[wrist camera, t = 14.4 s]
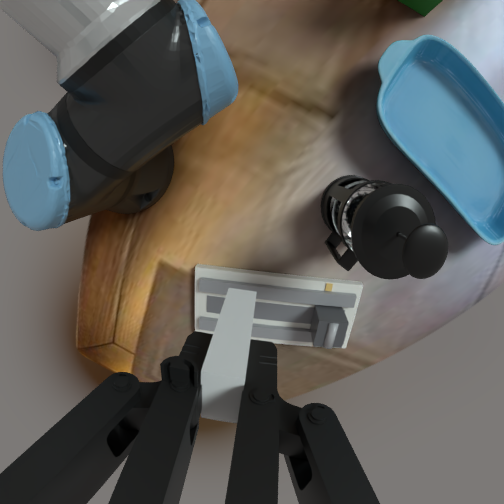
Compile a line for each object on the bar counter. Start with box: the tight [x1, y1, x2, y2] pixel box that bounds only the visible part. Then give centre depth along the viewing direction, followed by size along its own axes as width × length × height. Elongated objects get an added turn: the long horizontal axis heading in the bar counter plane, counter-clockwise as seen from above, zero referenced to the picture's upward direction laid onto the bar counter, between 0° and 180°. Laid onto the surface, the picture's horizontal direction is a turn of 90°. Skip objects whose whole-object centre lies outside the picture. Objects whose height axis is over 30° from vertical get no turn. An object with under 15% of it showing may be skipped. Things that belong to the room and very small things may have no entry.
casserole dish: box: [376, 35, 504, 245], centre depth 30 cm, size 37×22×7 cm, turn 56°
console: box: [195, 264, 363, 348], centre depth 43 cm, size 26×12×2 cm, turn 85°
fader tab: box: [310, 305, 349, 349], centre depth 40 cm, size 4×4×6 cm
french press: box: [321, 175, 448, 279], centre depth 28 cm, size 12×9×23 cm
